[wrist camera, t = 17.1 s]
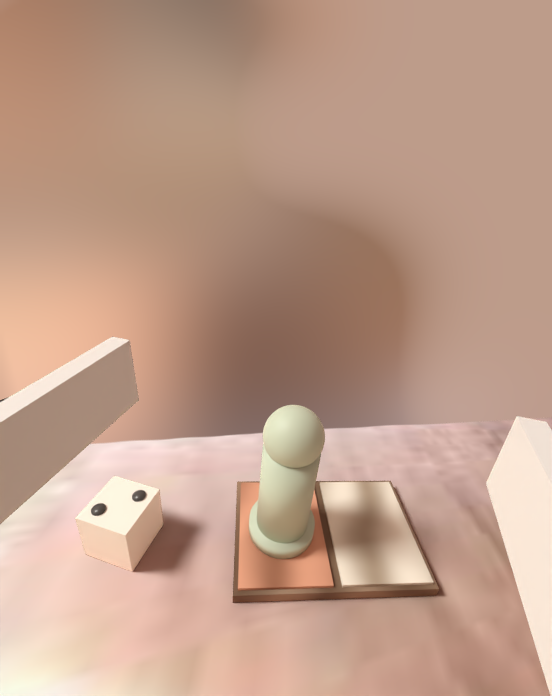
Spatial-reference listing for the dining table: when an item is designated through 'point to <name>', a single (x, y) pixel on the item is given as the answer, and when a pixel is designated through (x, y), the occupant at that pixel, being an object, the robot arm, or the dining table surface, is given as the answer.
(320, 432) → the pawn
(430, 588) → the board
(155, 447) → the dining table surface
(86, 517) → the die
